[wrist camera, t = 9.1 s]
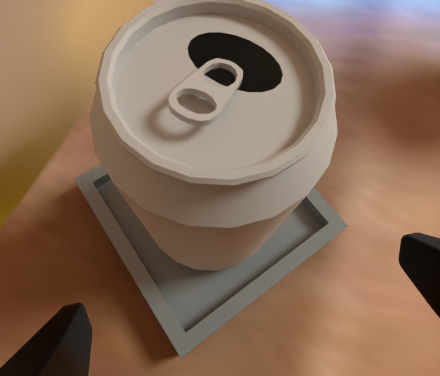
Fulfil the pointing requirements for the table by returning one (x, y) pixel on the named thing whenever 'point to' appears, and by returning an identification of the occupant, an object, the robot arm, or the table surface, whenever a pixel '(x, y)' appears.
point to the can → (213, 124)
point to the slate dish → (204, 279)
